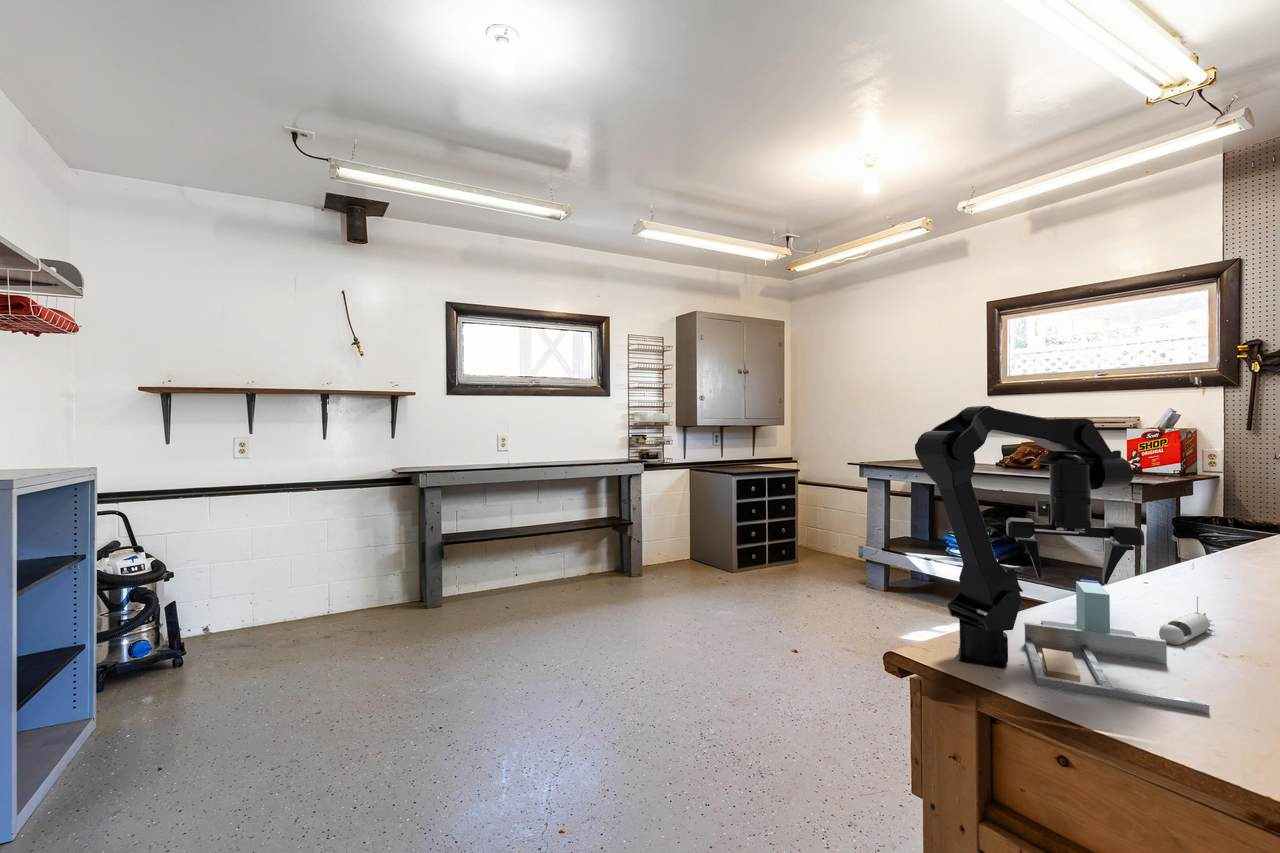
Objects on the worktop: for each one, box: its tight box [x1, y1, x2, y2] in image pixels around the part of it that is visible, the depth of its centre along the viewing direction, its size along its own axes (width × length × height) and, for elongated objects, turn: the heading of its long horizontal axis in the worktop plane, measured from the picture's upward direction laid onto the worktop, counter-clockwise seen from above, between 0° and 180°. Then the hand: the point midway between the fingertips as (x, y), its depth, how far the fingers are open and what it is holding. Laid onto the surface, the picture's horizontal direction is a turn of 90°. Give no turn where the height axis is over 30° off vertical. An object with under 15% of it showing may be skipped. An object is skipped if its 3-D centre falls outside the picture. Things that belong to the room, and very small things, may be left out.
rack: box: [1023, 622, 1210, 715], centre depth 90 cm, size 19×19×4 cm
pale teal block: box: [1075, 580, 1111, 633], centre depth 105 cm, size 4×8×9 cm, turn 152°
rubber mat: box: [1040, 620, 1137, 636], centre depth 105 cm, size 14×14×1 cm
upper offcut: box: [1041, 648, 1081, 682], centre depth 92 cm, size 4×10×1 cm, turn 149°
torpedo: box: [1158, 596, 1216, 646], centre depth 107 cm, size 18×5×7 cm, turn 121°
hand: (1071, 580), depth 101 cm, fingers open, 9 cm apart
